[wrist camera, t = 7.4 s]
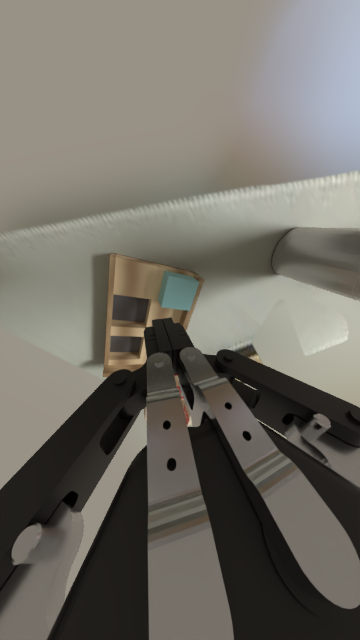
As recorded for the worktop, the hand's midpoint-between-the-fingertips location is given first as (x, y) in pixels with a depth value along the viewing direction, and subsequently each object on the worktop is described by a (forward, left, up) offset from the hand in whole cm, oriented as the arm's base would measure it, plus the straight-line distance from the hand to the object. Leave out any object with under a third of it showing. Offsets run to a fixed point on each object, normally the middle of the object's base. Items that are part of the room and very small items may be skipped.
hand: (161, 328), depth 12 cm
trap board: (-2, +9, -17) cm, 19 cm away
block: (-5, +1, -14) cm, 15 cm away
